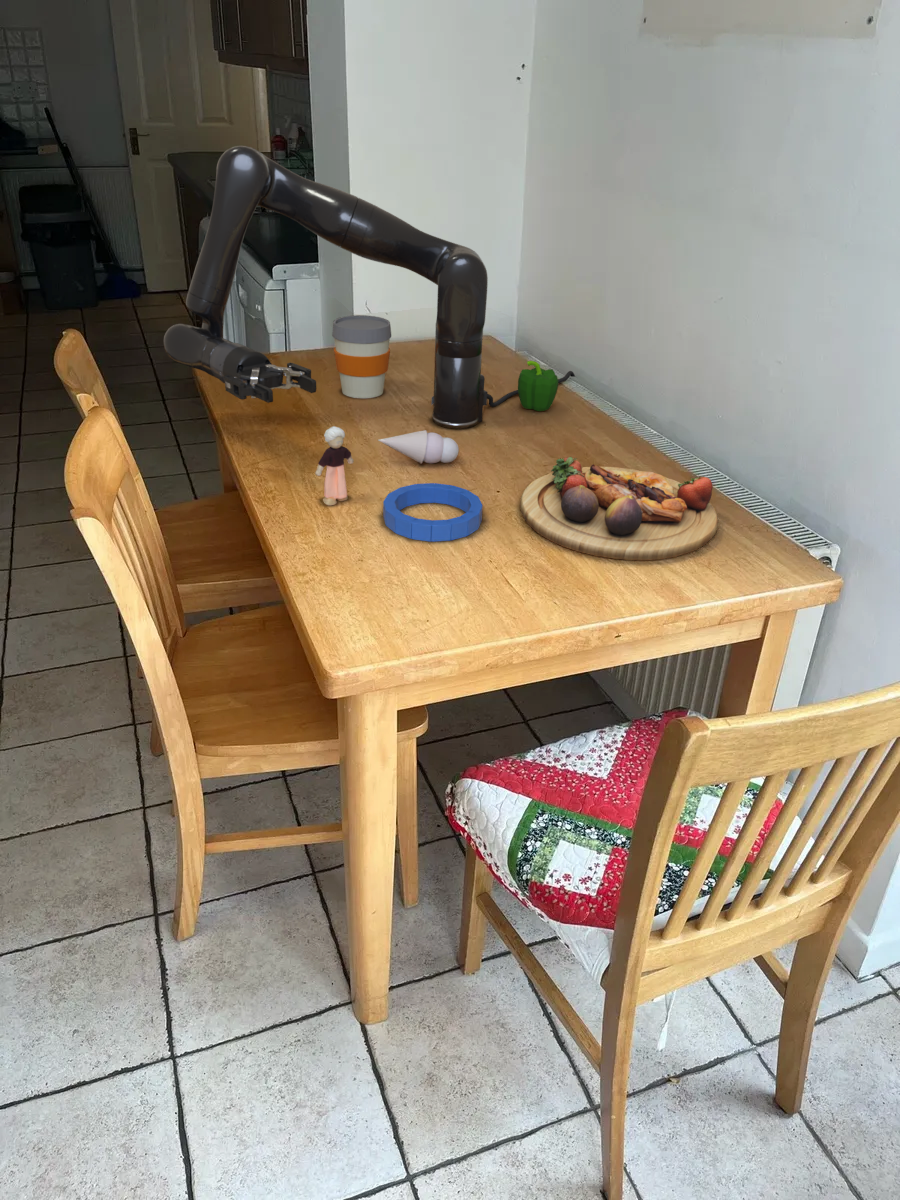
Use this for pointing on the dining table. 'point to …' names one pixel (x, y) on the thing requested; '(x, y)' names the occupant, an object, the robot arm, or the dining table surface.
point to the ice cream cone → (424, 446)
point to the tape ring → (432, 528)
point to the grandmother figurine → (334, 466)
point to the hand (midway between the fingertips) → (293, 391)
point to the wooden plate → (620, 511)
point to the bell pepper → (537, 387)
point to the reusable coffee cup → (362, 354)
